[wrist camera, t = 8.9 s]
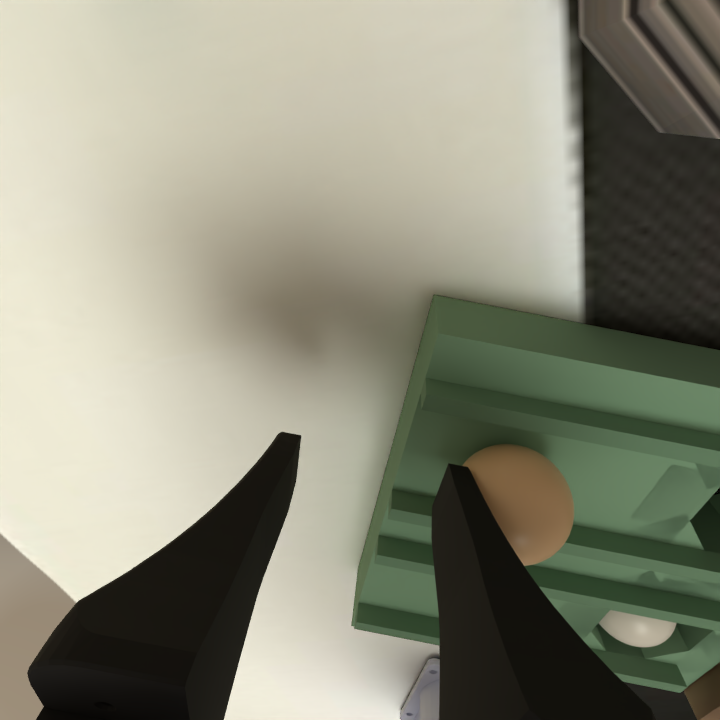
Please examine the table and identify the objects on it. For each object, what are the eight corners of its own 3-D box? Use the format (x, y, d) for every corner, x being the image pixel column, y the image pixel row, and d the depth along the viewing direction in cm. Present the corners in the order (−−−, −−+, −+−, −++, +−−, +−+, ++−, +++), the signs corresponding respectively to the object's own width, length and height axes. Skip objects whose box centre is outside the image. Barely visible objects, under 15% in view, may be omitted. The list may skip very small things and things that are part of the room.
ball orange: (518, 498, 16) (568, 591, 13) (427, 495, 15) (457, 592, 12) (555, 424, 14) (623, 511, 11) (454, 417, 14) (497, 507, 11)
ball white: (634, 594, 22) (676, 668, 19) (566, 586, 22) (595, 659, 19) (661, 547, 21) (711, 619, 17) (587, 539, 21) (623, 609, 18)
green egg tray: (658, 628, 24) (698, 713, 21) (357, 570, 24) (349, 645, 21) (912, 387, 15) (1056, 468, 12) (433, 294, 15) (440, 348, 12)
